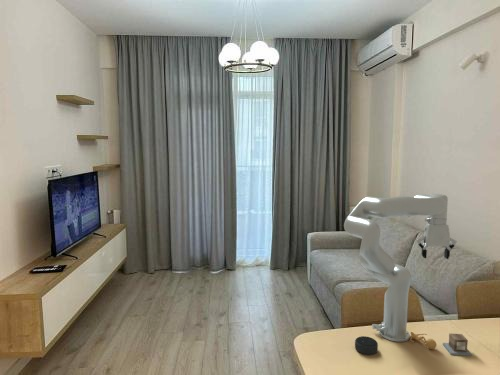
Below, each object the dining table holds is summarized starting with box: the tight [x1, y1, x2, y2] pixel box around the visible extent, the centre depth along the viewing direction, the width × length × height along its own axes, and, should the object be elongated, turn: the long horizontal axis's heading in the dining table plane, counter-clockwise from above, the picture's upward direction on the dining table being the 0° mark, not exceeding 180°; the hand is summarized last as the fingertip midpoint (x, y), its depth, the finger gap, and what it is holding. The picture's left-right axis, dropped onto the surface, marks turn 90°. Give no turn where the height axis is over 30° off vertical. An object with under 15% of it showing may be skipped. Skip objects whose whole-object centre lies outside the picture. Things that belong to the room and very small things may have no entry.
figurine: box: [409, 331, 437, 350], centre depth 156 cm, size 8×6×12 cm
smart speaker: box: [354, 336, 379, 356], centre depth 152 cm, size 9×9×4 cm
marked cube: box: [448, 333, 469, 352], centre depth 151 cm, size 5×5×5 cm
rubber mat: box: [442, 342, 473, 357], centre depth 152 cm, size 8×8×1 cm
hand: (435, 257), depth 171 cm, fingers open, 9 cm apart
